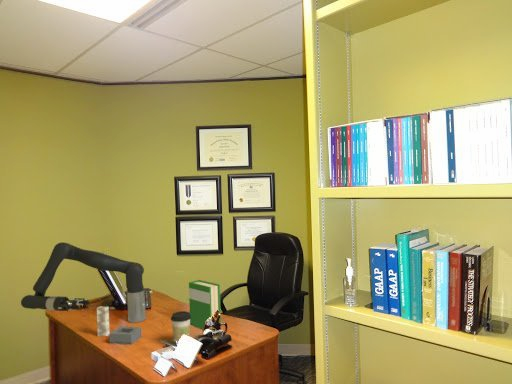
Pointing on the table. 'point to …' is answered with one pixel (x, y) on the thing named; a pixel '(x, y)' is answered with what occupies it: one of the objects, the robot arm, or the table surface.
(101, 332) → the marbled white block
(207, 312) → the hardback book
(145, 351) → the table surface
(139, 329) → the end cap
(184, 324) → the coffee cup
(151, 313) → the table surface
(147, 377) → the table surface
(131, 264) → the robot arm
